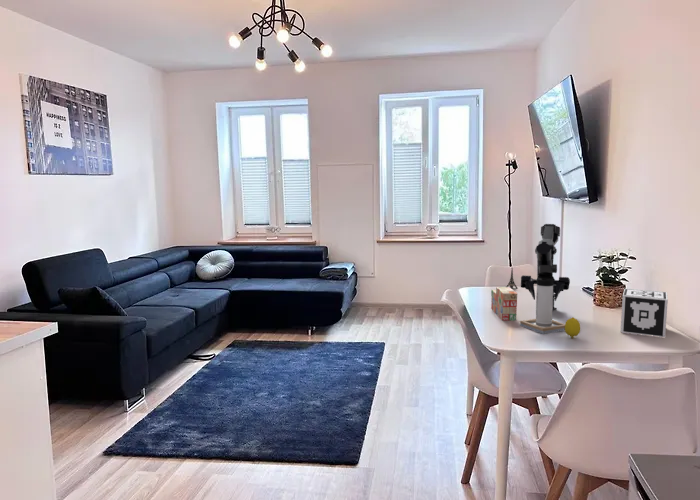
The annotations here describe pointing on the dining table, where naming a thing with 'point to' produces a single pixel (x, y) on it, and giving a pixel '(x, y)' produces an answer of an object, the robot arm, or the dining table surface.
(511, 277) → the eiffel tower figurine
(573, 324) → the lemon
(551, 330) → the square wooden frame
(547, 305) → the travel mug
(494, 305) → the stack of blocks
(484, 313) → the dining table surface
